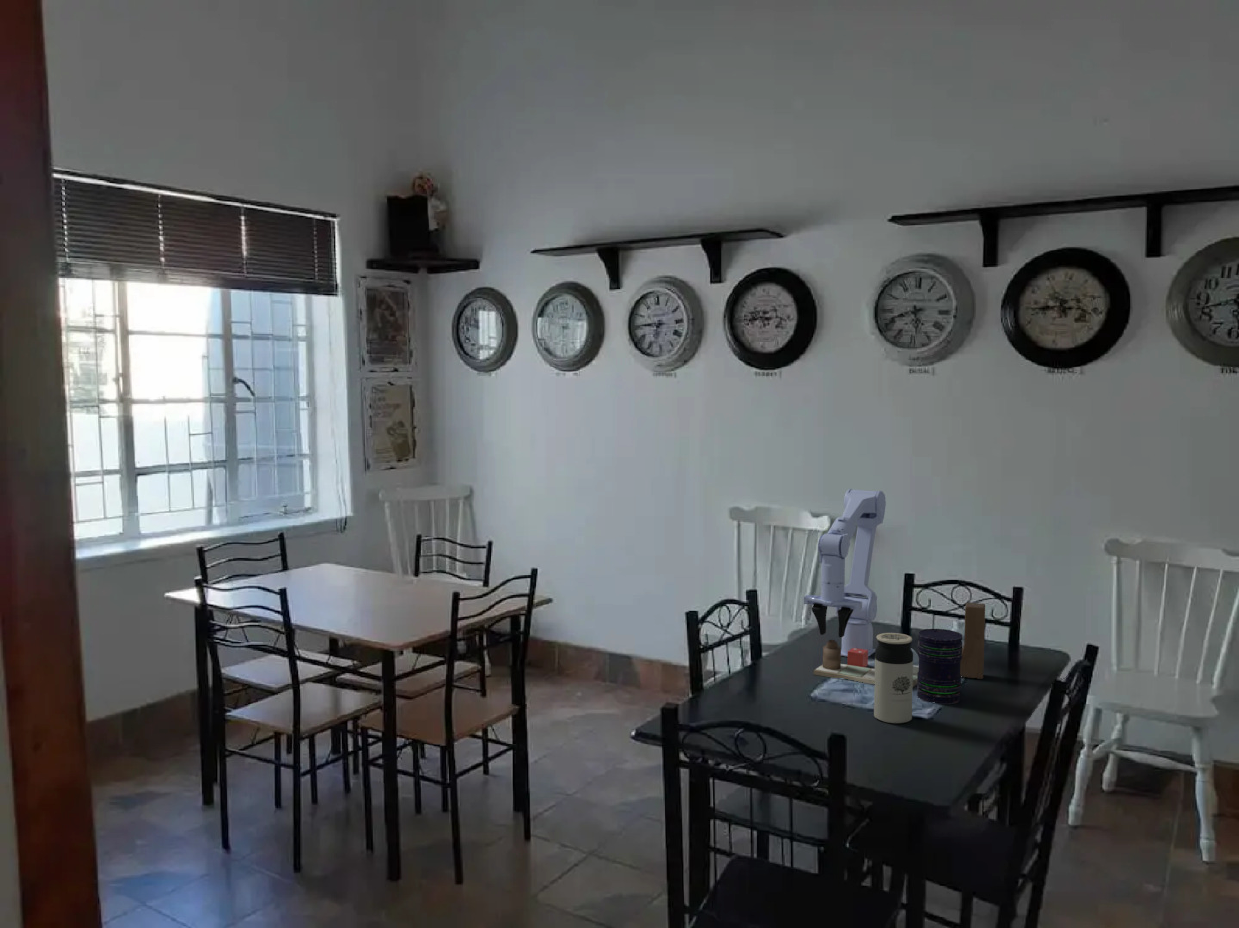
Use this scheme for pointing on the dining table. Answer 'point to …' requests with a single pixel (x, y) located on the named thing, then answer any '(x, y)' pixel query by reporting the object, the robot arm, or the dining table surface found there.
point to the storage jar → (939, 666)
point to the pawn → (832, 655)
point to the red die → (857, 657)
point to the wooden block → (973, 641)
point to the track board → (852, 673)
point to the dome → (915, 658)
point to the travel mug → (893, 678)
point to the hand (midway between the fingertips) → (832, 635)
